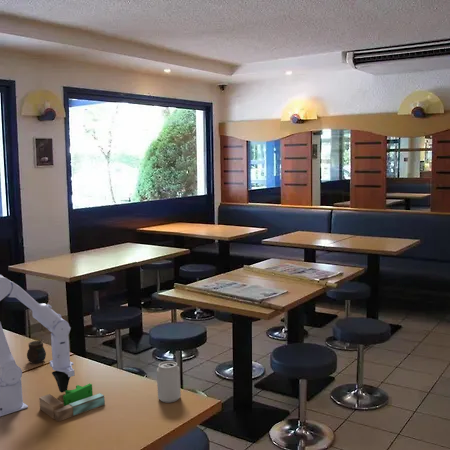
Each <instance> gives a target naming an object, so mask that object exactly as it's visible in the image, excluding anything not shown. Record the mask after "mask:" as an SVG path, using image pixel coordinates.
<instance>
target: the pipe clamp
mask: <svg viewBox="0 0 450 450" xmlns="http://www.w3.org/2000/svg"><path fill="white" fill-rule="evenodd" d="M64 393H65V394H64V395H62V399H63V403H64V406H66V405H69V404H70V403H73V402H76V401H79V400H82V399H85V398H88V397H91V396H93V395H94V394H93V384H92V383H87V384H85V385H83V386H82V385H79V384H77V385H75V388H74V389H67V390H66V391H65V392H64Z"/></svg>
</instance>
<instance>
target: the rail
mask: <svg viewBox="0 0 450 450" xmlns="http://www.w3.org/2000/svg"><path fill="white" fill-rule="evenodd" d="M105 404H106V401H105V395H104V394H103V393H96V394H93V396H91V397H88V398H85V399H82V400H79V401H76V402H73V403H70V404H69V405H66V406H63V407H60V408H57V409H55V410H54V416H55V419H54V420H55V421H57V422H61V421H63V420H67V419H68V418H69V419H70V418H73V417H75V416H77V415H80V414H83V413H85V412H88V411H91V410H94V409H97V408H100V407H102V406H105Z"/></svg>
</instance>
